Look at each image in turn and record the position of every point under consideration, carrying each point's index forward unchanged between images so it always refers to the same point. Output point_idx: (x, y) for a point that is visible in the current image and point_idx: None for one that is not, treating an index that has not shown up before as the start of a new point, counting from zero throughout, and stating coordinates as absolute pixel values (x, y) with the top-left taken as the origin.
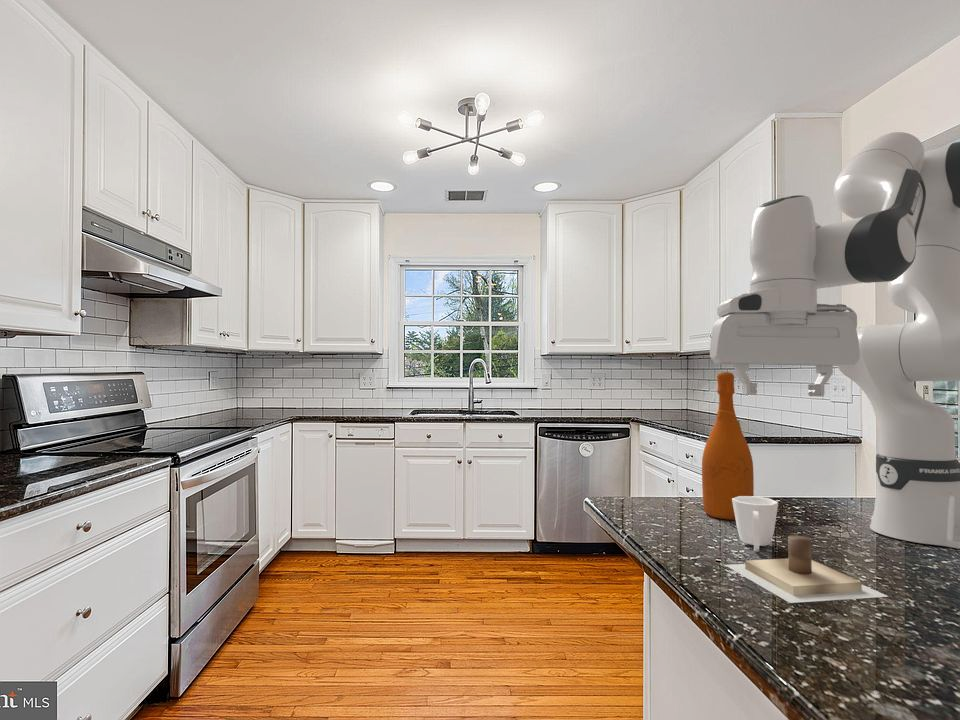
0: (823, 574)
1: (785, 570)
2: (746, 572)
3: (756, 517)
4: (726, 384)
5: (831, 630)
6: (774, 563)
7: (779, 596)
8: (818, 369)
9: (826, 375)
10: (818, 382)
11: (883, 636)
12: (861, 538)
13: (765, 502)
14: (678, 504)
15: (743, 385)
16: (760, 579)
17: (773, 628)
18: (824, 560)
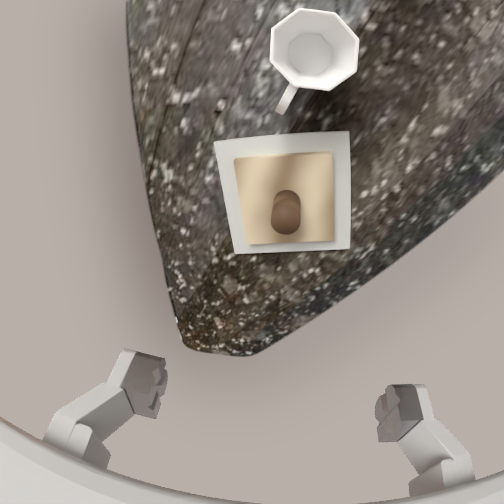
0: (308, 215)
1: (268, 199)
2: (230, 171)
3: (282, 108)
4: None
5: (245, 290)
6: (268, 174)
7: (232, 239)
8: (428, 482)
9: (419, 469)
10: (409, 440)
11: (280, 301)
12: (496, 52)
13: (348, 35)
14: None
15: (113, 379)
16: (236, 194)
17: (199, 283)
18: (381, 120)
